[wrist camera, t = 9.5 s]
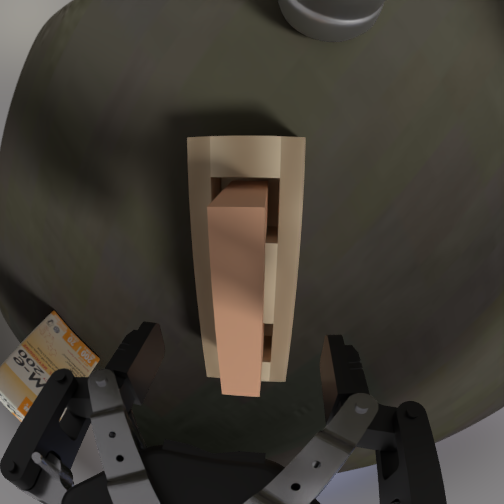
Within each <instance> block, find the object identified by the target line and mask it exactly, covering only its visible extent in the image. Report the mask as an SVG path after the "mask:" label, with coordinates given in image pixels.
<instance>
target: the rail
mask: <svg viewBox="0 0 504 504" xmlns="http://www.w3.org/2000/svg"><path fill="white" fill-rule="evenodd" d="M187 154H188V184H189V204H190V221H191V236H192V249H193V261H194V273H195V283H196V293H197V302H198V311H199V320H200V328H201V336H202V344H203V351H204V358H205V365H206V372H207V377H217V378H220V370H219V361H218V352H217V342H216V331H215V320H214V308H213V296H212V283H211V269H210V253H209V236H208V216H207V206H208V205H209V204H210V203H211V202H212V201H213V200H214V199H215V198H216V197H217V196H218V195H219V194H220V193H221V191H222V190H223V189H224V188H225V187H226V186H227V185H228V184H229V183H230V182H231V181H268V219H267V230H266V241H265V281H264V315H263V323H265V328H264V343H263V357H262V371H261V381H276V382H285V380H286V373H287V365H288V357H289V349H290V341H291V333H292V324H293V315H294V306H295V296H296V285H297V275H298V263H299V251H300V238H301V223H302V207H303V189H304V168H305V137H286V136H206V137H187Z"/></svg>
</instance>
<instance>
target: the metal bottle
mask: <svg viewBox="0 0 504 504" xmlns="http://www.w3.org/2000/svg"><path fill="white" fill-rule="evenodd" d="M384 1H385V0H278V3H279V6H280V9H281V11H282V14H283V16H284V17H285V19H286V20H287V22H288V23H289V24H290V25H291V26H292V27H293V28H295V29H296V30H297V31H298V32H300V33H302V34H304V35H305V36H308V37H310V38H313V39H316V40H320V41H325V42H342V41H347V40H350V39H352V38H355V37H357V36H359V35H361V34H363V33H365V32H366V31H368V30H369V29H370V28H371V27H372V26H373V25H374V23H375V22H376V20H377V18H378V16H379V14H380V12H381V10H382V7H383V4H384Z"/></svg>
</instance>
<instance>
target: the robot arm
mask: <svg viewBox="0 0 504 504" xmlns="http://www.w3.org/2000/svg"><path fill="white" fill-rule="evenodd" d="M164 354H165V345H164V341H163V337H162V333H161V329H160V325H159V324H158V323H152V322H143V323H142V324H141V326H140V327H139V329H138V330H133V331H132V332H130V333H129V334H128V335H126V337H125V338H124V340H123V341H122V344H120V346H119V347H118V349H117V350H116V352H115V353H114V355H113V356H112V358H111V360H110V361H109V363H108V364H107V366H106V367H105V369H99V370H96V371H94V372H93V373H92V374H91V375H90V376H89V377H75V376H74V375H73V373H72V371H71V370H69V369H66V368H62V369H58V370H56V371H55V372H53V373H52V375H51V376H50V378H49V379H48V381H47V382H46V384H45V385H44V387H43V388H42V390H41V391H40V393H39V394H38V396H37V398H36V399H35V401H34V402H33V404H32V406H31V407H30V409H29V411H28V412H27V414H26V416H25V417H24V419H23V421H22V422H21V424H20V426H19V428H18V429H17V431H16V433H15V435H14V437H13V438H12V440H11V442H10V444H9V446H8V448H7V450H6V452H5V454H4V456H3V458H2V460H1V463H0V469H1V473H2V475H3V476H4V477H5V478H6V479H7V480H9V481H10V482H11V483H13V484H14V485H16V487H18V488H19V489H20V490H22V491H23V492H25V493H26V494H28V495H29V496H31V497H32V498H34V499H37V500H38V501H40V502H42V503H43V504H320V503H319V502H318V501H317V500H316V497H317V496H318V495H319V494H320V493H321V492H322V491H323V489H324V488H325V487H326V486H327V485H328V483H329V482H330V481H331V479H332V478H333V477H334V476H335V475H336V473H337V472H338V471H339V469H340V468H341V467H342V465H343V464H344V463H345V461H346V460H347V459H348V457H349V456H350V454H351V453H352V452H353V450H354V449H355V447H361V448H367V449H373V450H375V451H376V461H377V470H378V482H379V498H380V504H447V503H446V496H445V490H444V484H443V479H442V474H441V469H440V464H439V460H438V455H437V451H436V447H435V443H434V439H433V435H432V431H431V427H430V424H429V420H428V417H427V413H426V411H425V409H424V407H423V406H422V405H421V404H419V403H417V402H414V401H407V402H404V403H402V404H401V405H400V406H399V407H398V408H396V407H390V406H384V405H381V404H379V403H378V402H377V401H376V399H375V398H374V397H372V396H371V395H370V394H369V390H368V387H367V383H366V379H365V375H364V372H363V369H362V364H361V363H360V357H359V354H358V352H357V351H356V350H355V348H354V347H353V346H352V345H344V341H343V337H342V335H326V336H325V340H324V345H323V349H322V354H321V359H320V374H321V382H322V391H323V400H324V409H325V419H326V425H327V426H326V427H325V429H324V430H323V431H319V432H318V433H317V434H316V435H315V436H314V438H313V439H312V440H311V441H310V442H309V443H308V444H307V445H306V446H305V448H304V449H303V450H302V451H301V452H300V453H299V454H298V455H297V456H296V457H295V458H294V459H293V460H292V461H291V462H290V463H289V464H288V465H287V466H286V467H283V466H282V465H280V464H278V463H276V462H273V461H271V460H267V459H265V454H266V453H255V452H242V451H238V452H228V453H216V454H213V453H209V452H206V451H204V450H201V449H199V448H196V447H194V446H192V445H189V444H185V443H180V442H175V441H170V440H166V439H165V441H164V444H163V445H158V446H151V447H148V448H147V446H146V444H145V442H144V440H143V438H142V435H141V433H140V430H139V428H138V425H137V423H136V420H135V417H134V414H133V412H132V409H131V407H132V405H133V403H134V404H138V405H142V403H143V401H144V399H145V396H146V394H147V392H148V390H149V388H150V386H151V383H152V381H153V379H154V377H155V375H156V373H157V370H158V368H159V366H160V364H161V362H162V360H163V358H164ZM65 408H67V409H66V411H65V413H64V415H63V417H62V419H61V421H60V418H61V416H62V414H63V412H64V410H65ZM59 421H60V423H59ZM90 423H92V427H93V432H94V436H95V440H96V444H97V448H98V451H99V455H100V458H101V462H102V464H103V468H104V471H102V472H101V473H99V474H97V475H95V476H93V477H91V478H89V479H87V480H85V481H83V482H81V483H79V484H77V485H74V482H73V475H72V472H71V470H70V469H71V467H72V464H73V462H74V459H75V457H76V455H77V452H78V450H79V448H80V446H81V443H82V441H83V439H84V436H85V434H86V432H87V430H88V428H89V425H90Z"/></svg>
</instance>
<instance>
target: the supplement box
mask: <svg viewBox="0 0 504 504" xmlns="http://www.w3.org/2000/svg"><path fill="white" fill-rule="evenodd" d="M99 360H100V358H99V357H98V356H97V355H96V354H95V353H93V352H92V351H91V350H90V349H89V348H88V347H87V346H86V345H85V344H84V343H83V342H82V341H81V340H80V339H79V338H78V337H77V336H76V335H75V334H74V333H73V332H72V331H71V330H70V328H69V327H68V326H67V325H66V324H65V323H64V322H63V320H62V319H61V318H60V317H59V315H58V314H57V313H56V312H55V311H52V312H51V313H50V314H49V315H48V316H47V317H46V318H45V319H44V320H43V321H42V322H41V323H40V324H39V325H38V326H37V327H36V328H35V329H34V330H33V331H32V332H31V333H30V334H29V335H28V337H27V338H26V339H25V340H24V341H23V342H22V343H21V344H20V345H19V346H18V347H17V348H16V349H15V350H14V352H13V353H12V354H11V355H10V356H9V357H8V358H7V359H6V360H5V361H4V363H3V364H2V365H1V366H0V401H1V402H2V403H3V404H4V406H5V407H6V408H7V409H8V410H9V411H10V412H11V413H12V414H13V415H14V416H15V417H16V418H18V419H19V420H20V421H21V422H22V421H23V419H24V417H25V416H26V414H27V412H28V411H29V409H30V407H31V406H32V404H33V402H34V401H35V399H36V398H37V396H38V394H39V393H40V391H41V390H42V388H43V387H44V385H45V384H46V382H47V381H48V379H49V378H50V376H51V375H52V373H53V372H55V371H56V370H58V369H62V368H66V369H69V370H71V371H72V373H73V375H74V376H75V377H88V376H89V375H90V373H91V372H92V370H93V369H94V367H95V366H96V364H97V363H98V361H99ZM66 409H67V408H65V410H64V412H63V414H62V416H61V418H62V417H63V415H64V413H65V411H66ZM61 418H60V420H61Z"/></svg>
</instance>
